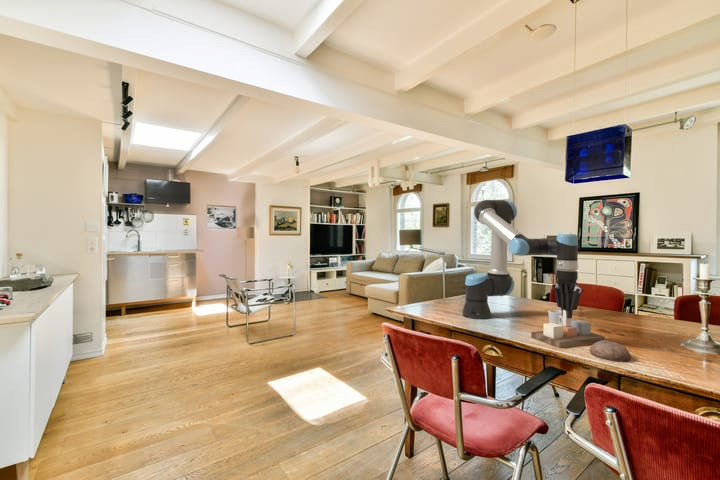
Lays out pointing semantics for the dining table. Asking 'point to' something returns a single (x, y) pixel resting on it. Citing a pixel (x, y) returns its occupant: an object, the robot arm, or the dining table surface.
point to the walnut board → (568, 339)
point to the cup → (555, 317)
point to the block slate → (582, 327)
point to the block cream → (553, 330)
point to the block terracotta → (569, 331)
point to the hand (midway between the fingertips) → (566, 325)
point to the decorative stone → (610, 351)
